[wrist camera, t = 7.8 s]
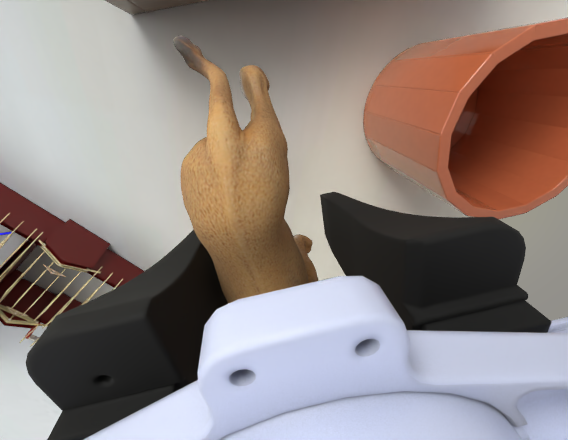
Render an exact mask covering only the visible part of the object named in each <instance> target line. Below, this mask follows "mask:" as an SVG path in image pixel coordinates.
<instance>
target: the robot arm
mask: <svg viewBox="0 0 568 440" xmlns="http://www.w3.org/2000/svg"><path fill="white" fill-rule="evenodd" d="M320 197H321V205H322V213H323V221H324V229H325V235H326V238H327V240H328V243H329V245H330V248H331V250H332V252H333V254H334V256H335V258H336V259H337V261H338V263H339V264H340V266H341V268H342V270H343V271H344V273H345V275H346V276H338V277H334V278H329V279H325V280H320V281H316V282H312V283H307V284H303V285H299V286H294V287H290V288H286V289H281V290H277V291H273V292H268V293H264V294H259V295H255V296H251V297H246V298H242V299H238V300H236V301H233V302H231V303H229V304H228V302H227V300H226V298H225V296H224V294H223V291H222V289H221V285H220V282H219V279H218V276H217V272H216V269H215V266H214V263H213V260H212V258H211V256H210V254H209V253H208V251H207V249H206V248H205V247H204V245H203V244H202V243H201V241H200V240H199V239H198V237H197V235H196V233H195V231H194V230H193V231H192V232H191V233H190V234H189V235H188V236H187V237H186V238H185V239H184V240H183V241H182V242H181V243H179V244H178V245H177V246H176V247H175V248H174V249H173V250H172V251H171V252H169V253H168V254H167V255H166V256H165V257H164V258H162V259H161V260H160V261H159V262H157V263H156V264H154V265H153V266H152V267H150V268H149V269H148V270H146V271H145V272H143V273H141V274H140V275H138V276H136V277H135V278H133V279H132V280H130V281H128V282H127V283H125V284H123V285H122V286H120V287H118V288H116V289H114V290H112V291H110V292H108V293H106V294H104V295H102V296H100V297H98V298H96V299H94V300H92V301H90V302H87V303H85V304H83V305H80V306H78V307H76V308H73V309H71V310H69V311H66V312H64V313H61V314H59V315H57V316H56V317H55V318H54V319H53V321H52V322H51V323H50V325H49V326H48V327H47V329H46V330H45V331H44V333H43V334H42V335H41V337H40V338H39V339H38V341H37V342H36V343H35V345H34V346H33V347H32V349H31V350H30V351H29V353H28V355H27V360H26V366H27V370H28V373H29V375H30V377H31V378H32V379H33V381H34V382H35V383H36V385H37V386H38V387H39V388H40V389H41V390H42V391H43V392H44V393H45V394H46V395H47V396H48V397H49V398H50V399H51V400H52V401H53V402H54V403H55V404H56V405H57V406H58V407H59V408H60V409H61V410H63V411H62V413H61V415H60V417H59V419H58V421H57V422H56V424H55V426H54V428H53V430H52V432H51V434H50V436H49V438H48V439H47V440H568V317H564V318H560V319H556V320H552V321H550V320H549V319H547V318H546V317H545V316H544V315H542V314H541V313H540V312H539V311H538V310H536V309H535V308H534V307H532V306H531V305H530V304H529V303H527V302H526V301H525V300H527V298H528V294H527V293H526V292H525V291H524V290H523V289H521V288H520V287H519V286H518V285H517V282H518V279H519V275H520V272H521V268H522V265H523V262H524V257H525V249H526V247H525V242H524V238H523V237H522V236H521V234H520V233H519V231H517V230H515V229H514V228H512V227H510V226H509V225H507V224H505V223H503V222H502V221H500V220H498V219H497V218H495V217H468V218H449V217H429V216H420V215H411V214H405V213H399V212H395V211H390V210H386V209H382V208H378V207H375V206H372V205H369V204H366V203H363V202H360V201H358V200H355V199H352V198H350V197H347V196H345V195H342V194H339V193H336V192H331V193H326V194H322V195H320Z"/></svg>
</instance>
